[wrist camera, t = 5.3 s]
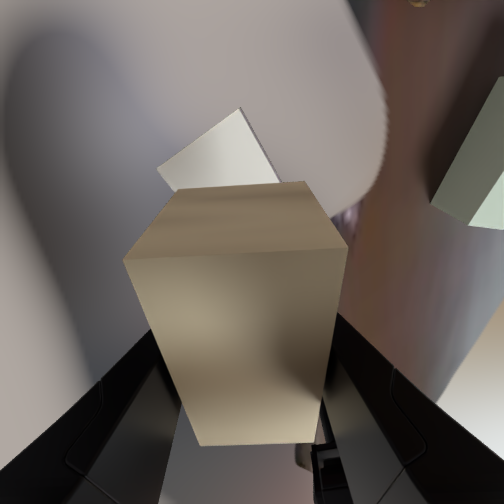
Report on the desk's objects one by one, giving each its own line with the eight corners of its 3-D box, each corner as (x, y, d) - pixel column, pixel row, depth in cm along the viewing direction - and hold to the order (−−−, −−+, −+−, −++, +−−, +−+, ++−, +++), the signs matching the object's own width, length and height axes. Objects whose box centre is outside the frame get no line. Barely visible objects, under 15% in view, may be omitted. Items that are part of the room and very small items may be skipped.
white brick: (306, 226, 20) (314, 245, 18) (245, 258, 22) (244, 279, 19) (240, 107, 16) (238, 108, 13) (169, 158, 17) (155, 168, 15)
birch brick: (295, 344, 12) (313, 442, 8) (214, 348, 12) (200, 446, 9) (304, 181, 8) (348, 247, 4) (178, 188, 8) (122, 259, 4)
